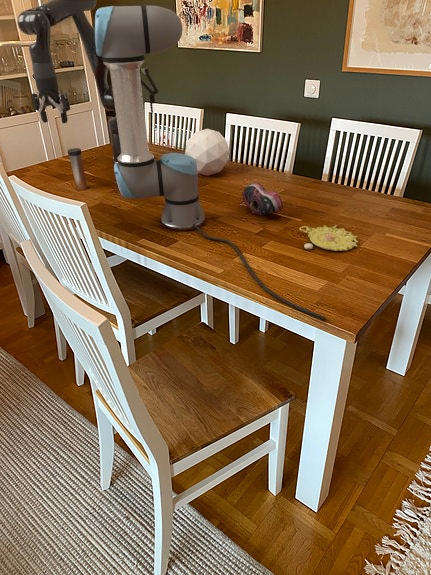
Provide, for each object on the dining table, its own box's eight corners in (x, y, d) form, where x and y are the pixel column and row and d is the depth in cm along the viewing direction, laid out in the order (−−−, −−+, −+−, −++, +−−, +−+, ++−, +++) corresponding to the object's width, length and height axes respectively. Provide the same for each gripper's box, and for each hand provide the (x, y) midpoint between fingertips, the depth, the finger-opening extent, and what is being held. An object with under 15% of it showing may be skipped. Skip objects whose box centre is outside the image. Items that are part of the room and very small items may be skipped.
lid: (82, 152, 183) (82, 147, 182) (79, 155, 178) (79, 151, 178) (70, 152, 183) (69, 148, 182) (66, 156, 178) (65, 151, 177)
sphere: (213, 191, 200) (211, 164, 181) (179, 169, 205) (173, 141, 186) (238, 162, 205) (238, 133, 186) (203, 141, 209) (200, 111, 191)
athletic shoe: (254, 181, 170) (227, 189, 167) (283, 176, 151) (253, 185, 147) (260, 210, 173) (234, 218, 170) (290, 209, 154) (261, 219, 150)
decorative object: (343, 255, 128) (285, 234, 139) (342, 262, 130) (284, 241, 140) (372, 230, 142) (317, 213, 152) (371, 237, 143) (316, 219, 153)
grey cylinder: (88, 186, 190) (81, 149, 182) (85, 189, 187) (78, 152, 178) (77, 186, 190) (70, 149, 182) (75, 190, 187) (67, 152, 178)
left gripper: (68, 74, 162) (76, 121, 170) (34, 74, 165) (45, 119, 174) (56, 77, 156) (65, 125, 164) (22, 77, 159) (33, 124, 168)
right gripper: (160, 52, 174) (165, 109, 185) (95, 55, 171) (104, 113, 182) (161, 54, 167) (166, 113, 179) (94, 56, 165) (103, 116, 176)
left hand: (55, 122), depth 169 cm, fingers open, 8 cm apart
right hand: (135, 113), depth 181 cm, fingers open, 13 cm apart
